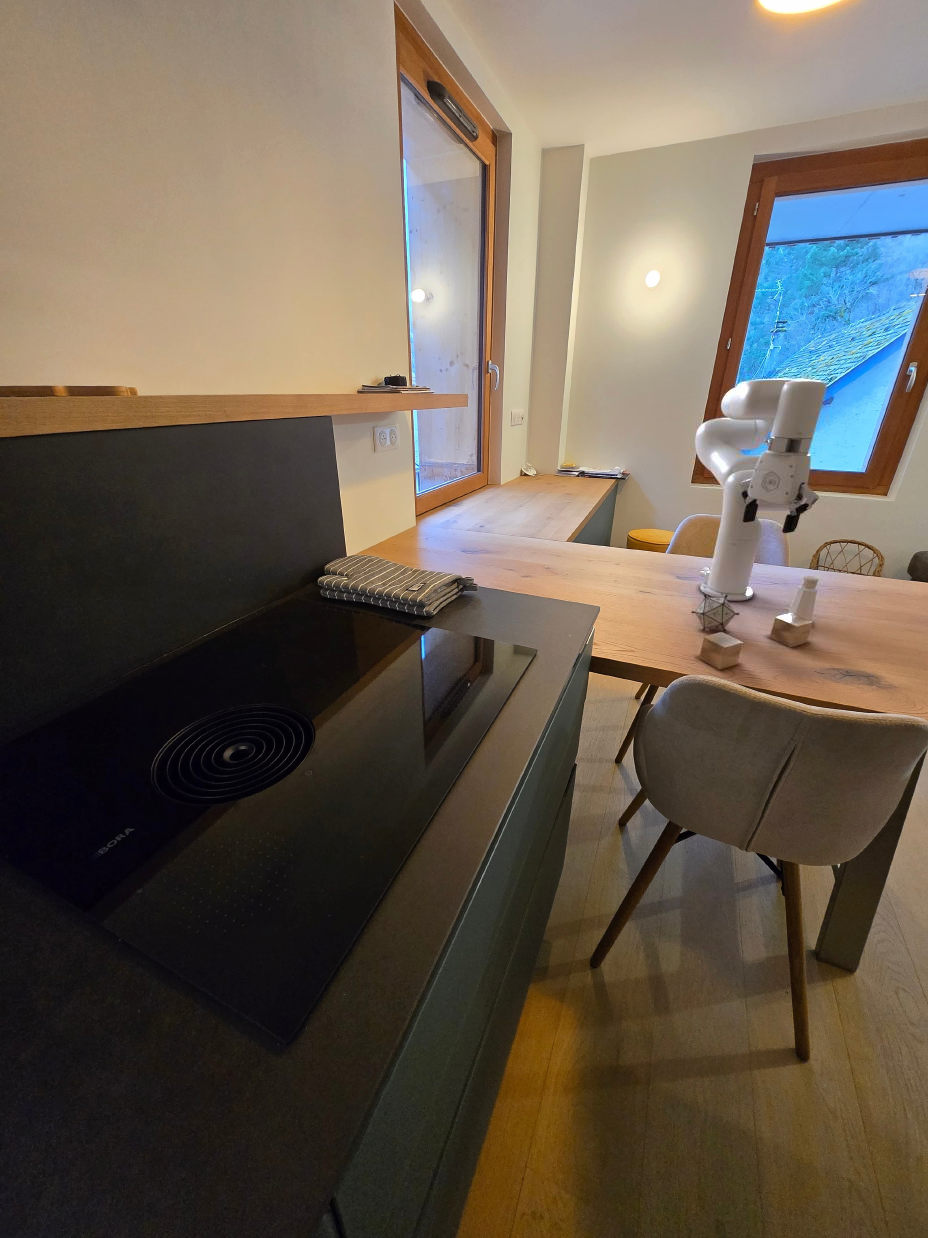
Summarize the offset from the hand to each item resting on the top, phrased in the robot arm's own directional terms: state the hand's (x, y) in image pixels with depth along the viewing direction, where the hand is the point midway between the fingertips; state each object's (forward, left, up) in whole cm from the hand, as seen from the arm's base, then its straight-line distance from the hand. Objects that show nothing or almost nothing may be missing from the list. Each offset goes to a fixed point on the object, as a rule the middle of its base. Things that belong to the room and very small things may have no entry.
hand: (767, 526), depth 110 cm
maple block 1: (+13, -24, -22) cm, 35 cm away
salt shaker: (+8, +8, -22) cm, 25 cm away
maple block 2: (+13, -3, -22) cm, 25 cm away
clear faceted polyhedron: (+2, -13, -22) cm, 26 cm away
